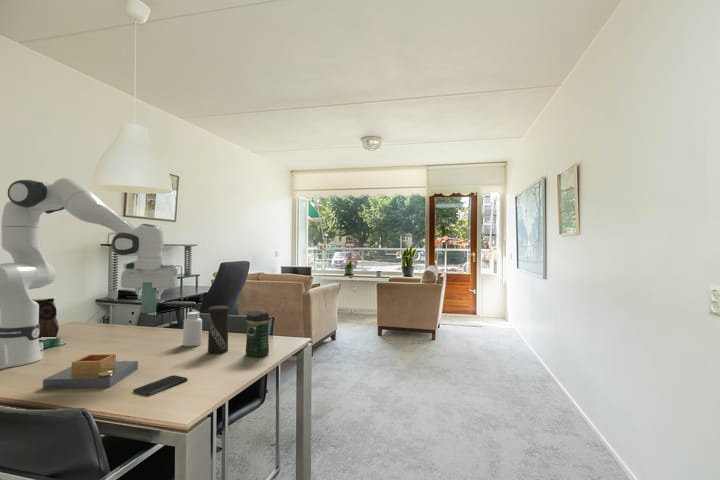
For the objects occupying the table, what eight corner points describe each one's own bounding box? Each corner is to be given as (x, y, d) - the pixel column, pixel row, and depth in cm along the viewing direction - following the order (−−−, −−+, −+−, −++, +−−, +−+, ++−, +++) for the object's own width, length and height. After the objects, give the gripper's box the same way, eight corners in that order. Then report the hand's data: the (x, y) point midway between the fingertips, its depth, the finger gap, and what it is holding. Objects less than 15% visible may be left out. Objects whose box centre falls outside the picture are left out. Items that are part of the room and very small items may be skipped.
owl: (59, 338, 177) (60, 298, 178) (24, 343, 168) (26, 300, 168) (53, 334, 185) (55, 295, 186) (20, 339, 176) (21, 298, 176)
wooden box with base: (42, 389, 115) (43, 367, 115) (80, 370, 133) (80, 351, 133) (109, 387, 117) (110, 365, 117) (137, 369, 135) (138, 350, 135)
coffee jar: (272, 354, 156) (272, 311, 157) (258, 358, 149) (259, 313, 150) (256, 350, 161) (257, 309, 162) (242, 355, 154) (243, 311, 155)
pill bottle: (194, 347, 165) (195, 314, 165) (178, 346, 166) (179, 313, 167) (205, 343, 173) (205, 311, 173) (190, 342, 174) (191, 310, 175)
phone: (189, 378, 124) (148, 394, 110) (189, 381, 124) (148, 397, 110) (172, 374, 127) (131, 389, 113) (172, 378, 127) (131, 393, 113)
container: (202, 353, 156) (203, 307, 156) (215, 347, 165) (216, 304, 165) (220, 355, 154) (221, 308, 154) (232, 349, 163) (233, 304, 163)
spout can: (139, 313, 140) (140, 275, 141) (145, 311, 145) (146, 274, 146) (152, 313, 141) (153, 275, 141) (158, 311, 146) (159, 274, 146)
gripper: (180, 264, 148) (179, 298, 148) (127, 264, 146) (126, 298, 145) (174, 265, 142) (173, 300, 141) (119, 264, 140) (117, 300, 139)
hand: (149, 299), depth 143 cm, fingers closed on spout can, 5 cm apart
